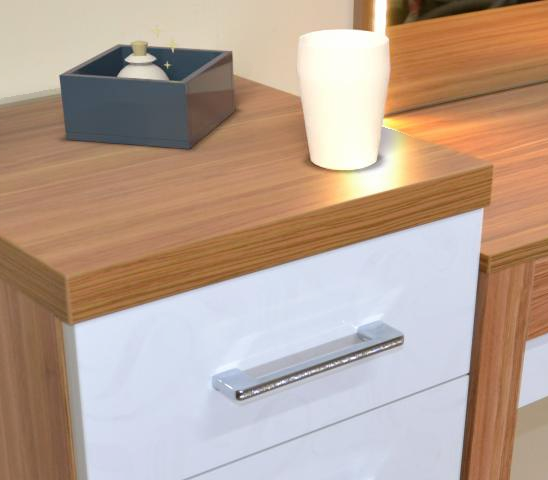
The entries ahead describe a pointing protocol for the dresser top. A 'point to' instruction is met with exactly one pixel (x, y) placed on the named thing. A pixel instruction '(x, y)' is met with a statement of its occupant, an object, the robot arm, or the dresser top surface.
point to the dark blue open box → (148, 98)
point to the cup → (343, 95)
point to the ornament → (144, 62)
